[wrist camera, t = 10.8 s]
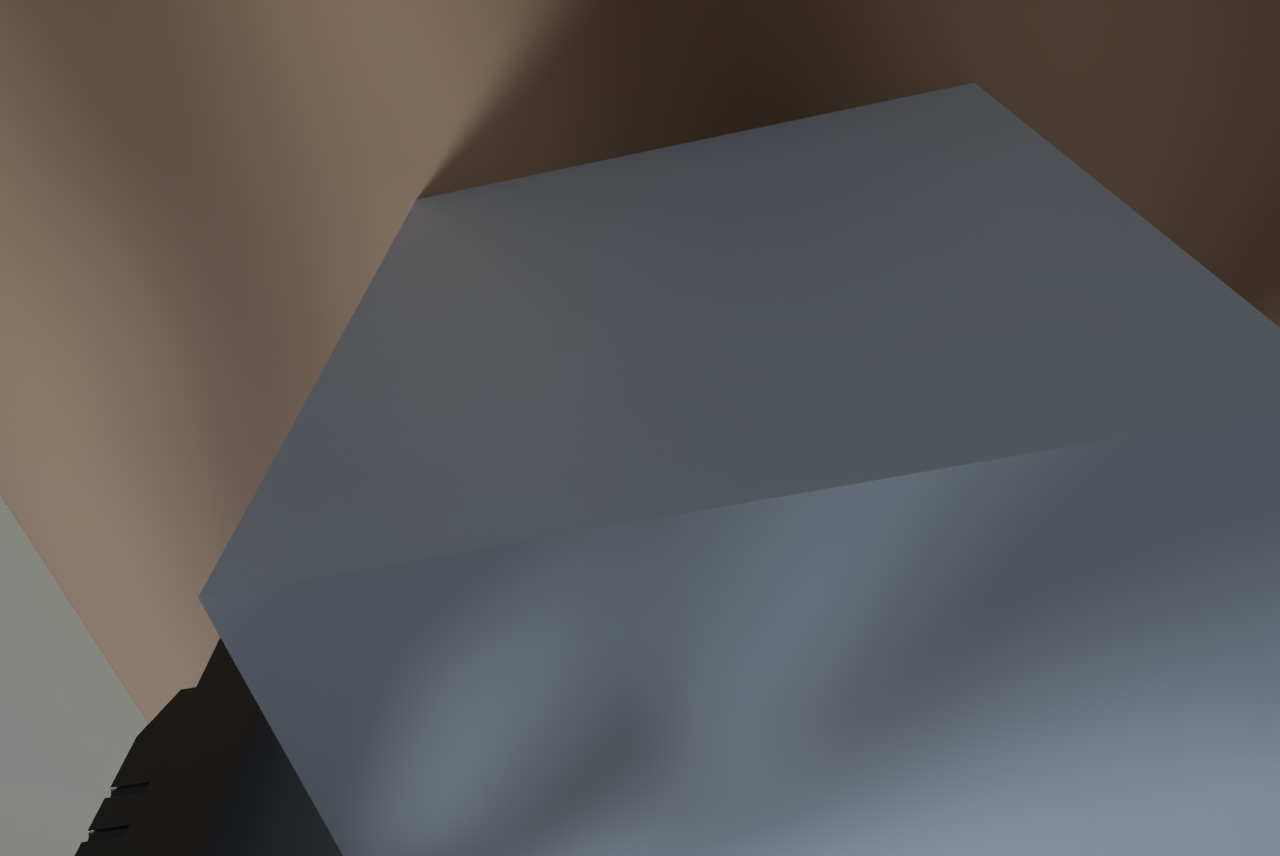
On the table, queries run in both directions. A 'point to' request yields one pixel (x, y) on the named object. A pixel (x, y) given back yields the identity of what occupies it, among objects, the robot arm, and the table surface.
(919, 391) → the pale grey cube
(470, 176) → the post board
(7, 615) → the table surface
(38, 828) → the table surface
